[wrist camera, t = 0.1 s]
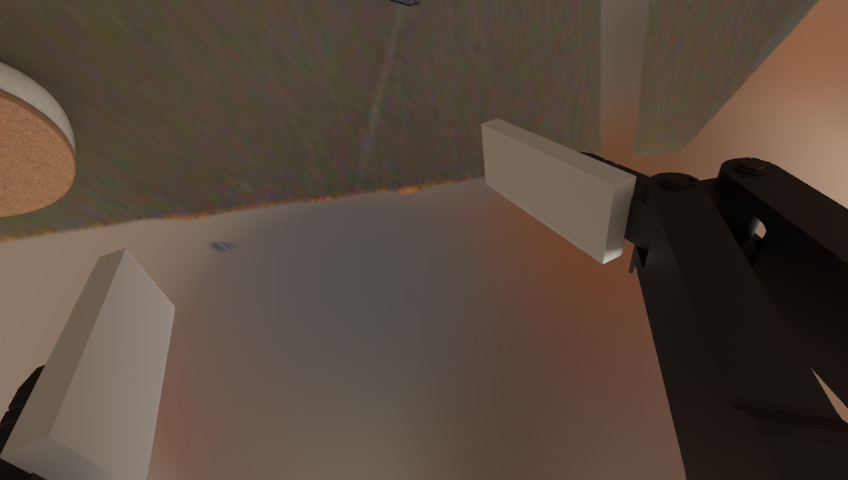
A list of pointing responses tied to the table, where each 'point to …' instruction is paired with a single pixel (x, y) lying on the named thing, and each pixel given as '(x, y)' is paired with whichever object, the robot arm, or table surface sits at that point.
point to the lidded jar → (32, 145)
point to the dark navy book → (407, 2)
